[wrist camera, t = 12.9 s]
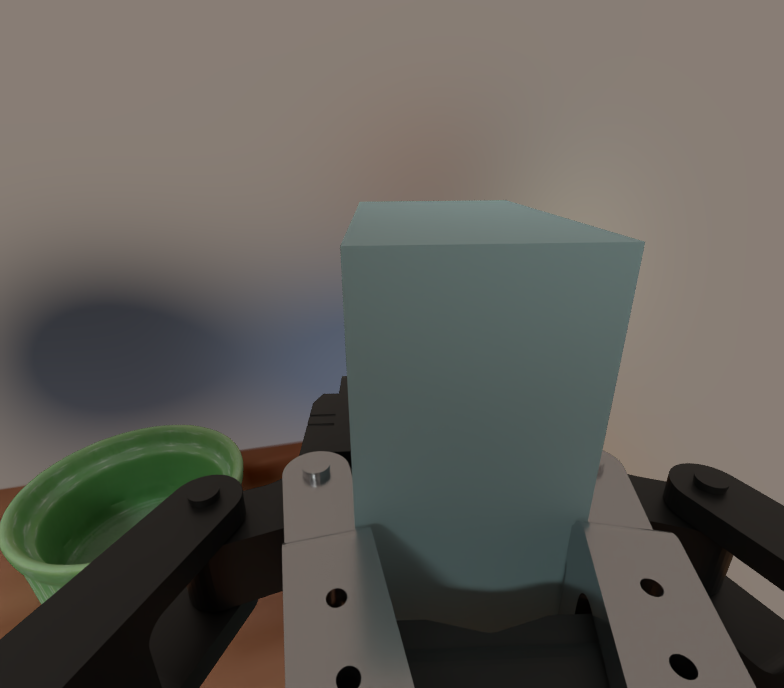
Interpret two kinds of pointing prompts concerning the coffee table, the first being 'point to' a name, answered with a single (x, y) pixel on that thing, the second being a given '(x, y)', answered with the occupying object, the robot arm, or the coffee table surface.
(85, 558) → the ramekin
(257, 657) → the coffee table surface
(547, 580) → the tall teal prism
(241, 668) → the coffee table surface
